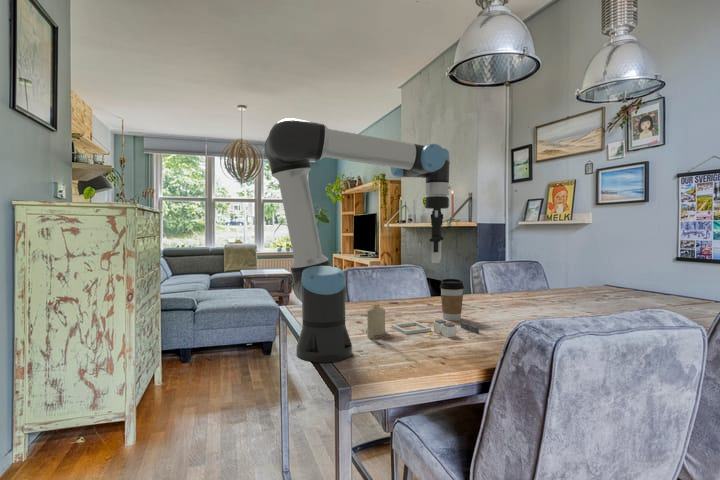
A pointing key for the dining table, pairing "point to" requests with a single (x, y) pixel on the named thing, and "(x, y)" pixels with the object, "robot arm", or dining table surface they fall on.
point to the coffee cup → (451, 298)
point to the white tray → (428, 328)
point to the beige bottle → (375, 321)
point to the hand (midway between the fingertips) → (436, 261)
